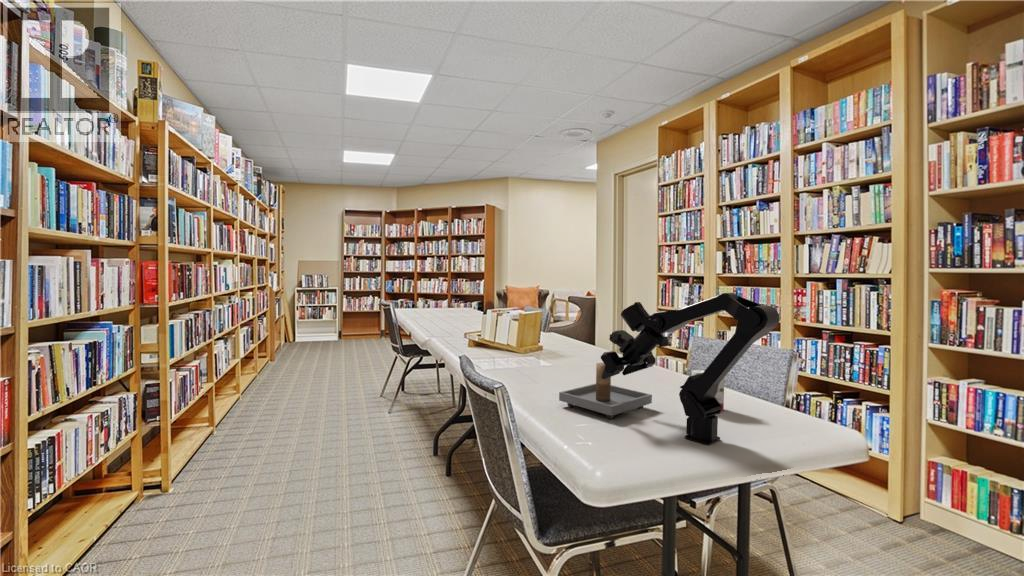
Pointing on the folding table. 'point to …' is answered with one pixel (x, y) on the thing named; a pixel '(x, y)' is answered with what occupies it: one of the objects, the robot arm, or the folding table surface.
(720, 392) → the ink box
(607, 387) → the walnut part
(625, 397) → the parts tray
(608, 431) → the folding table surface
